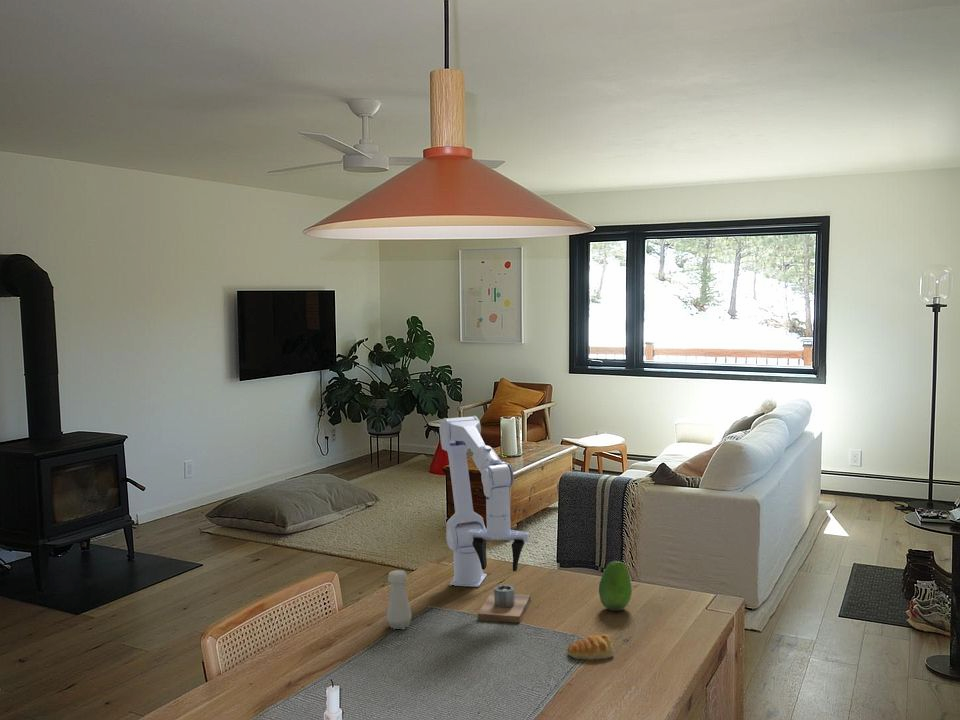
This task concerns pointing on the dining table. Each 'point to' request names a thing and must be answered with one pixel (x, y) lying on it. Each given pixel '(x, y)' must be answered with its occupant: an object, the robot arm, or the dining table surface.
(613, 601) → the avocado
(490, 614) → the shaft block
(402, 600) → the salt shaker
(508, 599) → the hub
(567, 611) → the dining table surface
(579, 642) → the pastry
